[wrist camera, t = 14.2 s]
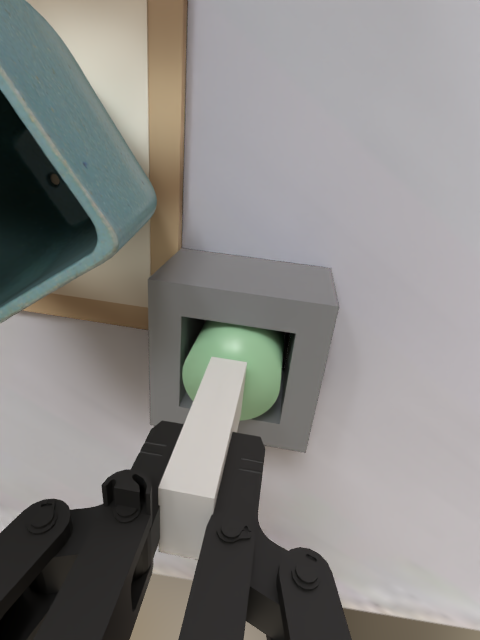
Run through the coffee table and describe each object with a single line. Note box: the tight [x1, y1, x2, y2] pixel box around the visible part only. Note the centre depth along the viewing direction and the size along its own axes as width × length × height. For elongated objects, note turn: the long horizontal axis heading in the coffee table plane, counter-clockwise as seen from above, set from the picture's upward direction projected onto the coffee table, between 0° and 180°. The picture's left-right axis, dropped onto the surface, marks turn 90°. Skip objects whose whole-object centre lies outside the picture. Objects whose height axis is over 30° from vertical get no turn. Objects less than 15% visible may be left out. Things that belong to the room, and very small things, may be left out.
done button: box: [182, 320, 285, 421], centre depth 19 cm, size 4×4×5 cm
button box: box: [148, 248, 339, 453], centre depth 20 cm, size 8×8×5 cm
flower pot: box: [0, 0, 157, 323], centre depth 15 cm, size 9×9×9 cm
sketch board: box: [23, 0, 187, 330], centre depth 19 cm, size 18×13×1 cm
